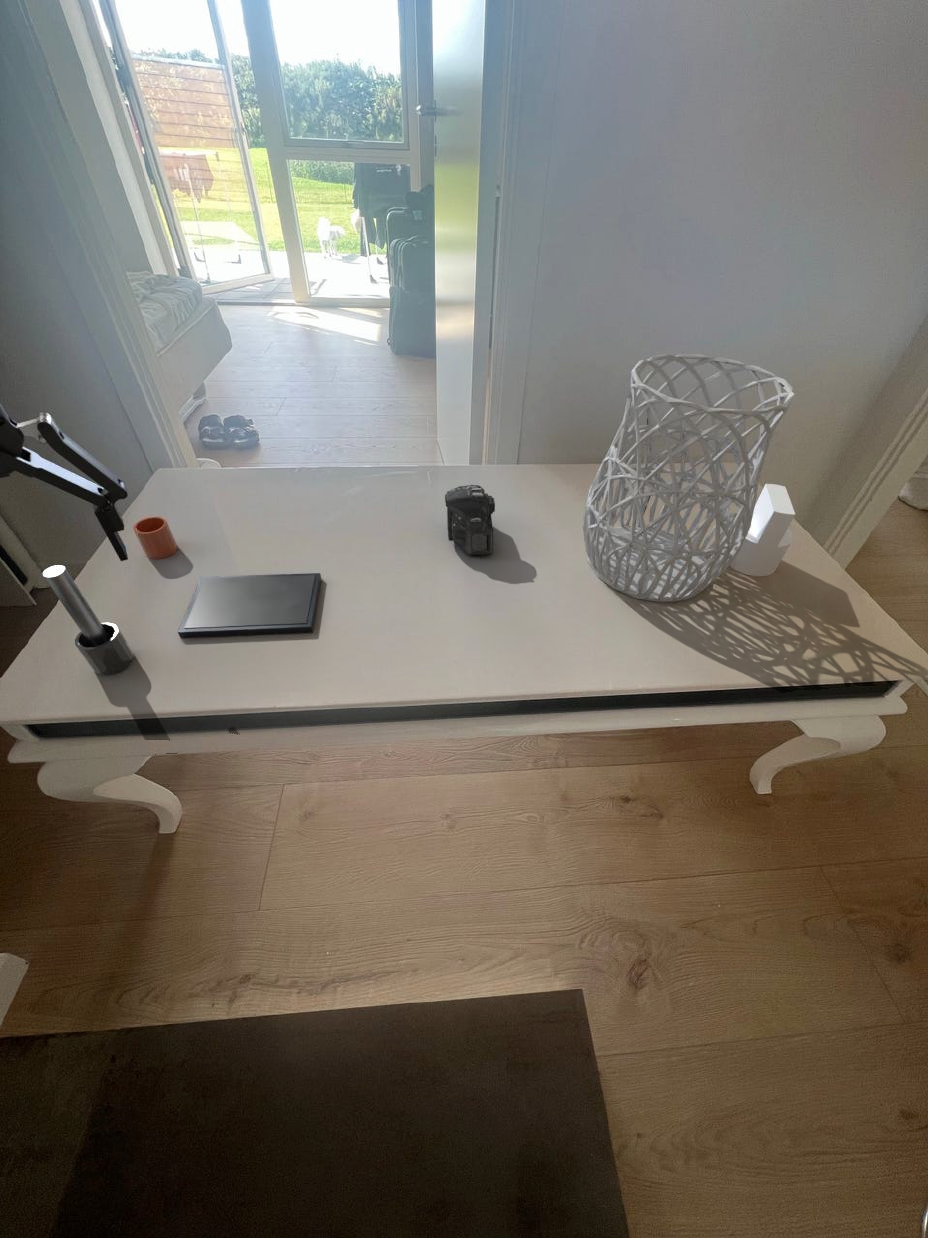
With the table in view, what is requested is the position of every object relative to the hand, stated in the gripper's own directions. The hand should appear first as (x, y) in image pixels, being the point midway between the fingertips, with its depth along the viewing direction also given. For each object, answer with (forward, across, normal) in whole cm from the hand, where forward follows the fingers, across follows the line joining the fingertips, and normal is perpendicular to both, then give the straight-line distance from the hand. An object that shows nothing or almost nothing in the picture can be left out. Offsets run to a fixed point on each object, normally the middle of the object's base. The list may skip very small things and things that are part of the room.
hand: (56, 571), depth 59 cm
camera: (+16, -56, -2) cm, 58 cm away
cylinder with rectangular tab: (+16, -95, +26) cm, 100 cm away
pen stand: (+15, 0, 0) cm, 15 cm away
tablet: (+15, -19, -2) cm, 24 cm away
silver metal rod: (+15, 0, 0) cm, 15 cm away
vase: (+16, -79, +18) cm, 82 cm away
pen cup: (+15, -9, -23) cm, 29 cm away
